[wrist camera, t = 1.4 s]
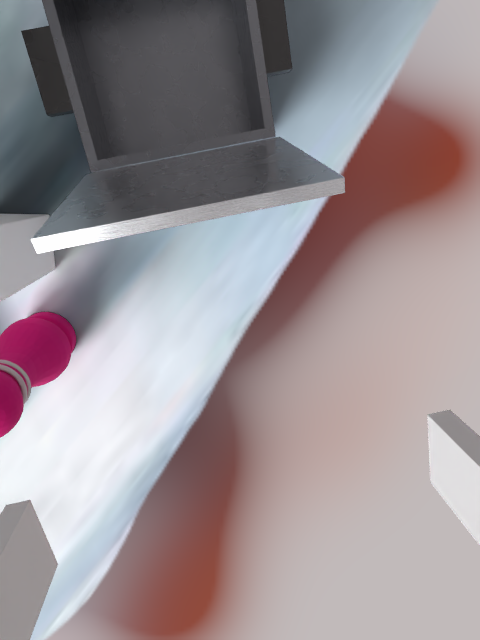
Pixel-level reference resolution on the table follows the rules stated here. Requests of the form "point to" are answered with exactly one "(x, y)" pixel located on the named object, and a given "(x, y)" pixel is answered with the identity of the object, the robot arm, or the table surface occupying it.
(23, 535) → the robot arm
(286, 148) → the lid
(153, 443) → the table surface
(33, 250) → the milk
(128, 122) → the gray box
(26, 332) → the pepper mill
